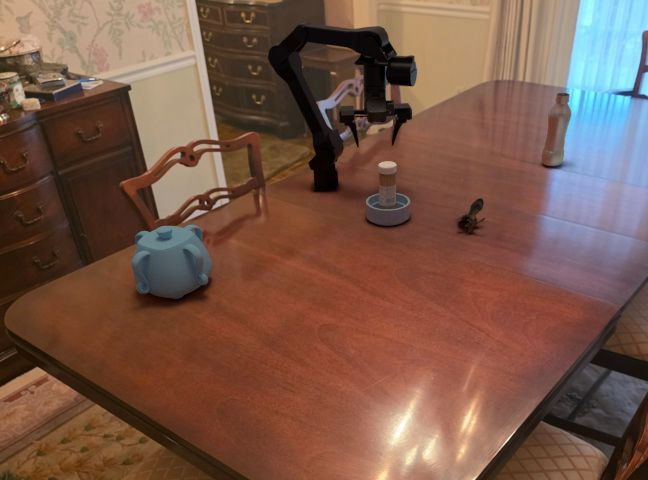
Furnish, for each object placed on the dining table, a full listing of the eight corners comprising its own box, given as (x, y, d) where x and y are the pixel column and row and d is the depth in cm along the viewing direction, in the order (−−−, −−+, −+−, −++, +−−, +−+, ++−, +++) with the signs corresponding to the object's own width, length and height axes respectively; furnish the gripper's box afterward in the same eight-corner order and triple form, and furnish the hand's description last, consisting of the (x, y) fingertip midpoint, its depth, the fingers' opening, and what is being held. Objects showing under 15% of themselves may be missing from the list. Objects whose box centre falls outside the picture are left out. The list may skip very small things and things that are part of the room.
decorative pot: (211, 302, 129) (200, 243, 121) (133, 308, 128) (116, 249, 120) (216, 264, 142) (206, 209, 134) (145, 270, 141) (131, 214, 133)
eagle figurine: (492, 229, 149) (490, 208, 155) (479, 208, 145) (476, 187, 151) (464, 243, 153) (462, 221, 159) (450, 223, 149) (449, 202, 155)
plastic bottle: (538, 167, 184) (549, 96, 171) (542, 159, 188) (553, 90, 176) (560, 169, 182) (573, 98, 169) (563, 162, 186) (576, 92, 174)
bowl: (367, 228, 155) (367, 211, 152) (365, 209, 164) (364, 193, 161) (412, 226, 155) (412, 209, 152) (407, 207, 164) (407, 191, 161)
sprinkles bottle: (395, 211, 161) (396, 160, 153) (396, 218, 157) (397, 166, 149) (378, 211, 161) (377, 160, 153) (378, 219, 157) (378, 167, 149)
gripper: (338, 94, 148) (341, 158, 158) (415, 90, 149) (413, 155, 158) (337, 82, 157) (340, 144, 167) (410, 79, 157) (408, 140, 167)
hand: (375, 146), depth 164 cm, fingers open, 9 cm apart
